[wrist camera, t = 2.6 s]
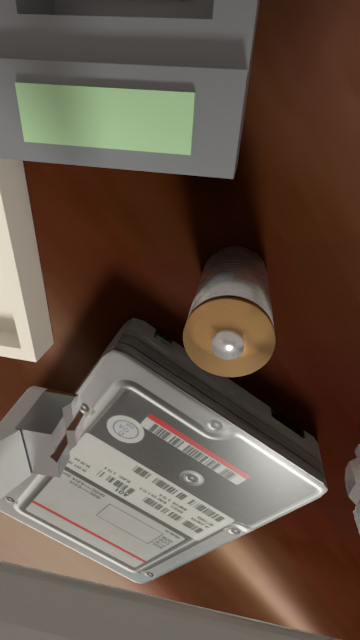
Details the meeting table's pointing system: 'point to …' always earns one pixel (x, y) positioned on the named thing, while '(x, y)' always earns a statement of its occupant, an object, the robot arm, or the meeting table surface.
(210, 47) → the checker cradle
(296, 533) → the meeting table surface
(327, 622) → the meeting table surface
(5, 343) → the trough
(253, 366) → the cell
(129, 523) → the hard drive
